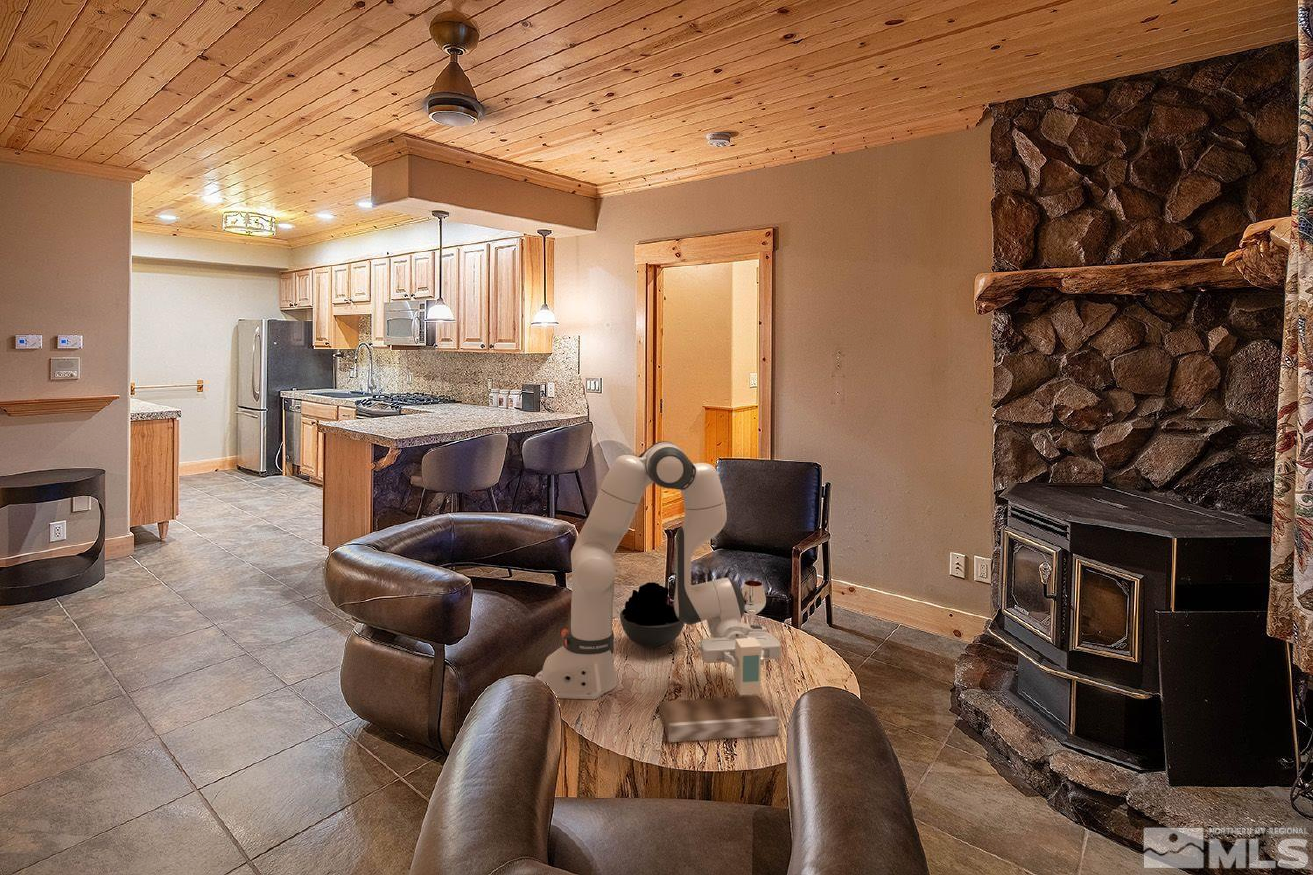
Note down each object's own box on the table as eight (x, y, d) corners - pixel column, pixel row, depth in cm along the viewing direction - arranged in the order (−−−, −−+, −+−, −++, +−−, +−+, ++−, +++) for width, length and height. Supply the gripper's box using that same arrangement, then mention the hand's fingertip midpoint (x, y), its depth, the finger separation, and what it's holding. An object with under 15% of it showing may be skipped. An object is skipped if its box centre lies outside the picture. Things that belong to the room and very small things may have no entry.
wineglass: (733, 637, 220) (734, 582, 218) (749, 631, 226) (751, 577, 224) (753, 646, 215) (755, 589, 212) (769, 638, 220) (771, 583, 218)
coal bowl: (678, 631, 225) (680, 575, 222) (690, 658, 205) (692, 596, 203) (616, 633, 222) (617, 576, 220) (622, 661, 202) (623, 598, 200)
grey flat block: (669, 742, 160) (669, 726, 160) (658, 708, 176) (659, 693, 175) (778, 735, 164) (778, 719, 164) (758, 702, 180) (759, 688, 179)
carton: (734, 685, 172) (735, 638, 170) (754, 683, 173) (755, 637, 171) (740, 695, 167) (741, 647, 165) (760, 694, 167) (761, 646, 166)
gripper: (694, 630, 180) (706, 653, 166) (771, 625, 183) (789, 648, 169) (694, 653, 180) (706, 678, 167) (770, 648, 184) (788, 672, 170)
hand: (748, 662), depth 168 cm, fingers closed on carton, 5 cm apart
